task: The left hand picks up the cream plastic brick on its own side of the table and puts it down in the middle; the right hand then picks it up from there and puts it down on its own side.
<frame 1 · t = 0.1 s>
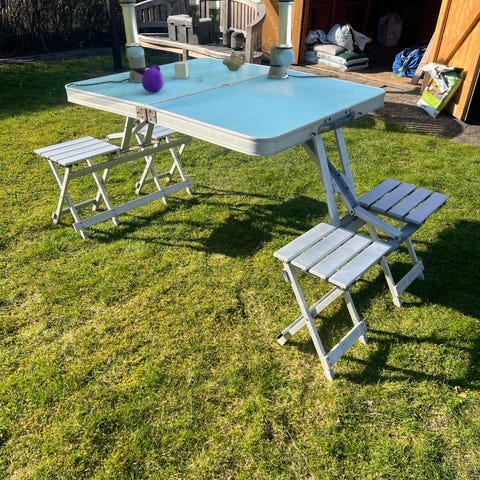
left hand: (196, 35, 349), 28 cm above the table, tool pointing down, fingers open, 13 cm apart
right hand: (215, 43, 307), 28 cm above the table, tool pointing down, fingers open, 13 cm apart
toy: (151, 91, 308), on the table
brick: (181, 77, 350), on the table
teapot: (234, 70, 369), on the table
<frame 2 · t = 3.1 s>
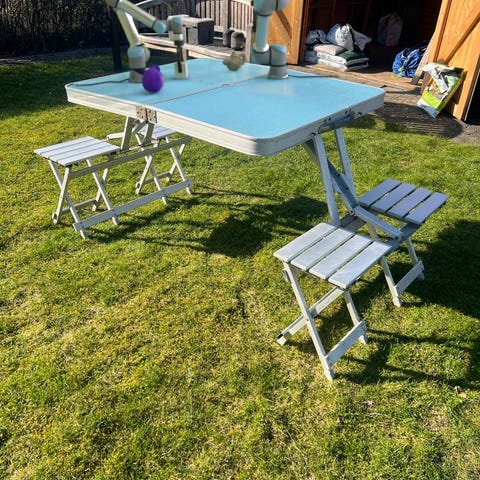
left hand: (181, 71, 348), 4 cm above the table, tool pointing down, fingers closed on brick, 8 cm apart
right hand: (255, 31, 348), 30 cm above the table, tool pointing down, fingers open, 13 cm apart
brick: (181, 77, 350), on the table, touching left hand
everything else where it was.
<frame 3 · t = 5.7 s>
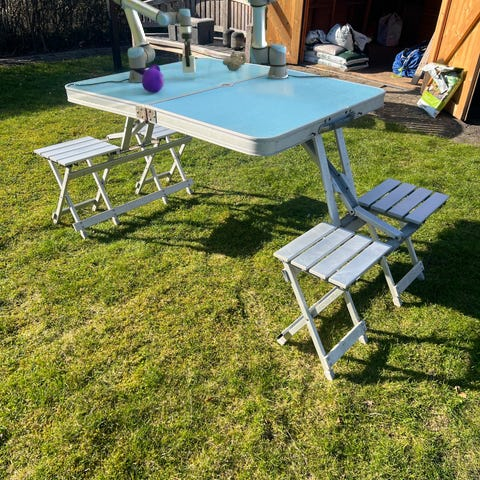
left hand: (189, 65, 337), 10 cm above the table, tool pointing down, fingers closed on brick, 8 cm apart
right hand: (265, 29, 360), 30 cm above the table, tool pointing down, fingers open, 13 cm apart
brick: (189, 71, 339), point 6 cm above the table, touching left hand
everything else where it was.
when the left hand's fingers open (5 cm above the table, at t = 8.7 s): brick drops 1 cm, on the table.
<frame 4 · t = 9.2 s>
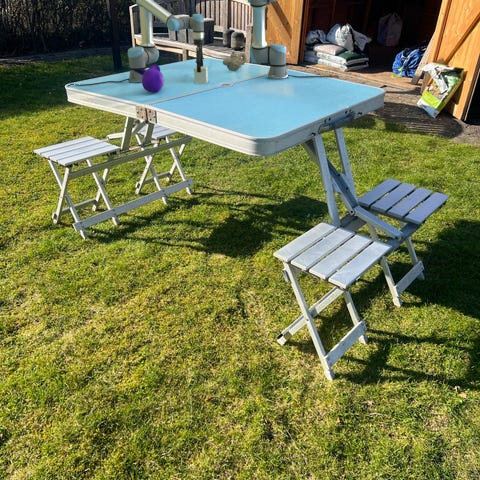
left hand: (200, 70, 326), 8 cm above the table, tool pointing down, fingers open, 13 cm apart
right hand: (265, 29, 360), 30 cm above the table, tool pointing down, fingers open, 13 cm apart
brick: (201, 82, 330), on the table
everything else where it was.
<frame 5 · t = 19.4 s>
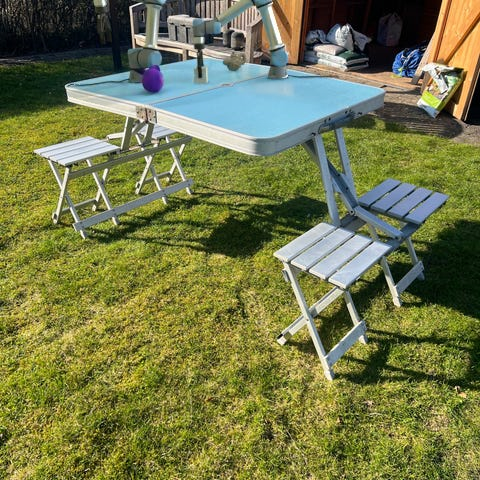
left hand: (106, 42, 291), 31 cm above the table, tool pointing down, fingers open, 13 cm apart
right hand: (201, 76, 328), 4 cm above the table, tool pointing down, fingers closed on brick, 8 cm apart
brick: (201, 82, 330), on the table, touching right hand
everything else where it was.
when the right hand's fingers open (5 cm above the table, at t = 26.3 s): brick drops 1 cm, on the table.
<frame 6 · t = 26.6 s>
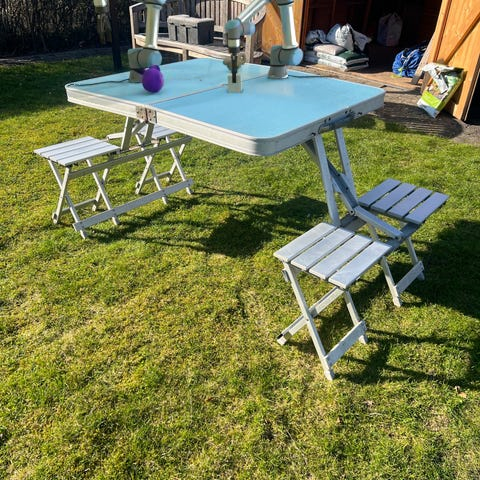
left hand: (106, 42, 291), 31 cm above the table, tool pointing down, fingers open, 13 cm apart
right hand: (234, 81, 301), 6 cm above the table, tool pointing down, fingers open, 12 cm apart
brick: (235, 90, 304), on the table
everything else where it was.
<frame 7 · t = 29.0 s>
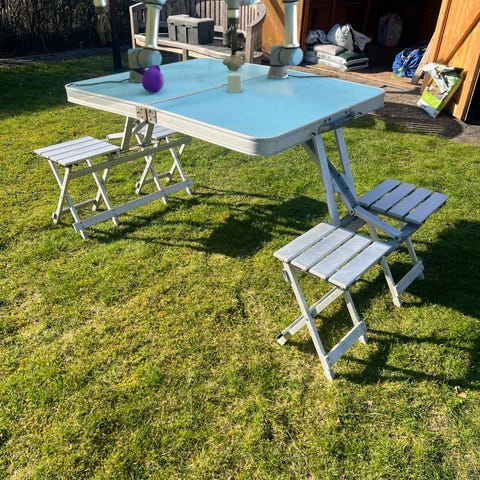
left hand: (106, 42, 291), 31 cm above the table, tool pointing down, fingers open, 13 cm apart
right hand: (234, 53, 292), 24 cm above the table, tool pointing down, fingers open, 13 cm apart
nothing on the table moved.
at the end: brick inside the target area (0.0 cm from its centre), on the table; brick tilted 0°; the two hands never held the brick at the same time; the left hand is holding nothing; the right hand is holding nothing; brick at rest at the end (0.0 cm/s) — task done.
